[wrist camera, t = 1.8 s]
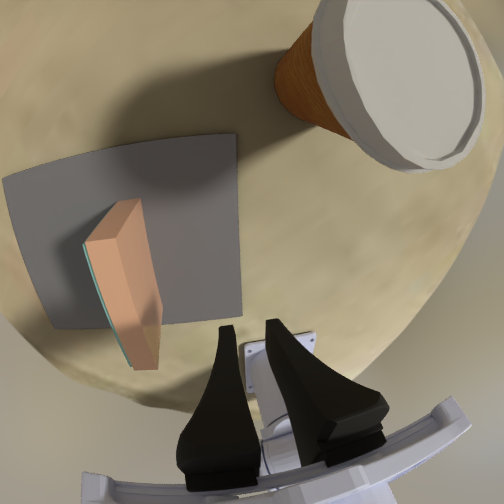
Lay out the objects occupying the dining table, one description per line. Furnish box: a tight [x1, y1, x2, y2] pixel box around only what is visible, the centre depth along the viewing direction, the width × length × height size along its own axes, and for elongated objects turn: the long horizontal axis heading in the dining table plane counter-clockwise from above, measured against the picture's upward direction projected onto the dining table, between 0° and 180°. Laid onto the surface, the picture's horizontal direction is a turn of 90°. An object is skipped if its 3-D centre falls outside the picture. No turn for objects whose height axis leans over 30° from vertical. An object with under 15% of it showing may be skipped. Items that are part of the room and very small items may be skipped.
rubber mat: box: [2, 133, 243, 329], centre depth 20 cm, size 16×20×1 cm
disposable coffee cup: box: [274, 0, 486, 174], centre depth 12 cm, size 10×10×12 cm
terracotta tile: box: [82, 198, 163, 370], centre depth 17 cm, size 10×2×7 cm, turn 1°
